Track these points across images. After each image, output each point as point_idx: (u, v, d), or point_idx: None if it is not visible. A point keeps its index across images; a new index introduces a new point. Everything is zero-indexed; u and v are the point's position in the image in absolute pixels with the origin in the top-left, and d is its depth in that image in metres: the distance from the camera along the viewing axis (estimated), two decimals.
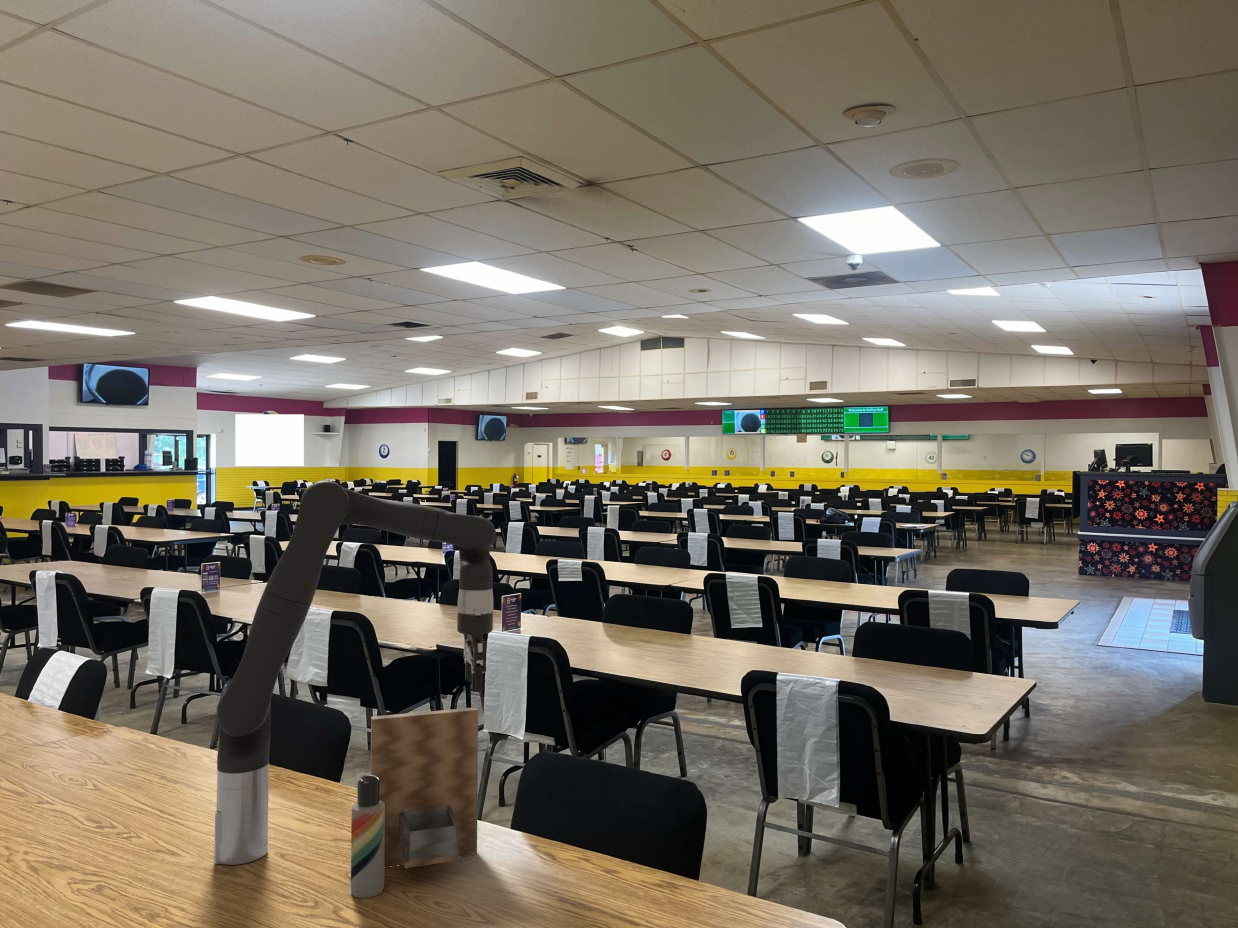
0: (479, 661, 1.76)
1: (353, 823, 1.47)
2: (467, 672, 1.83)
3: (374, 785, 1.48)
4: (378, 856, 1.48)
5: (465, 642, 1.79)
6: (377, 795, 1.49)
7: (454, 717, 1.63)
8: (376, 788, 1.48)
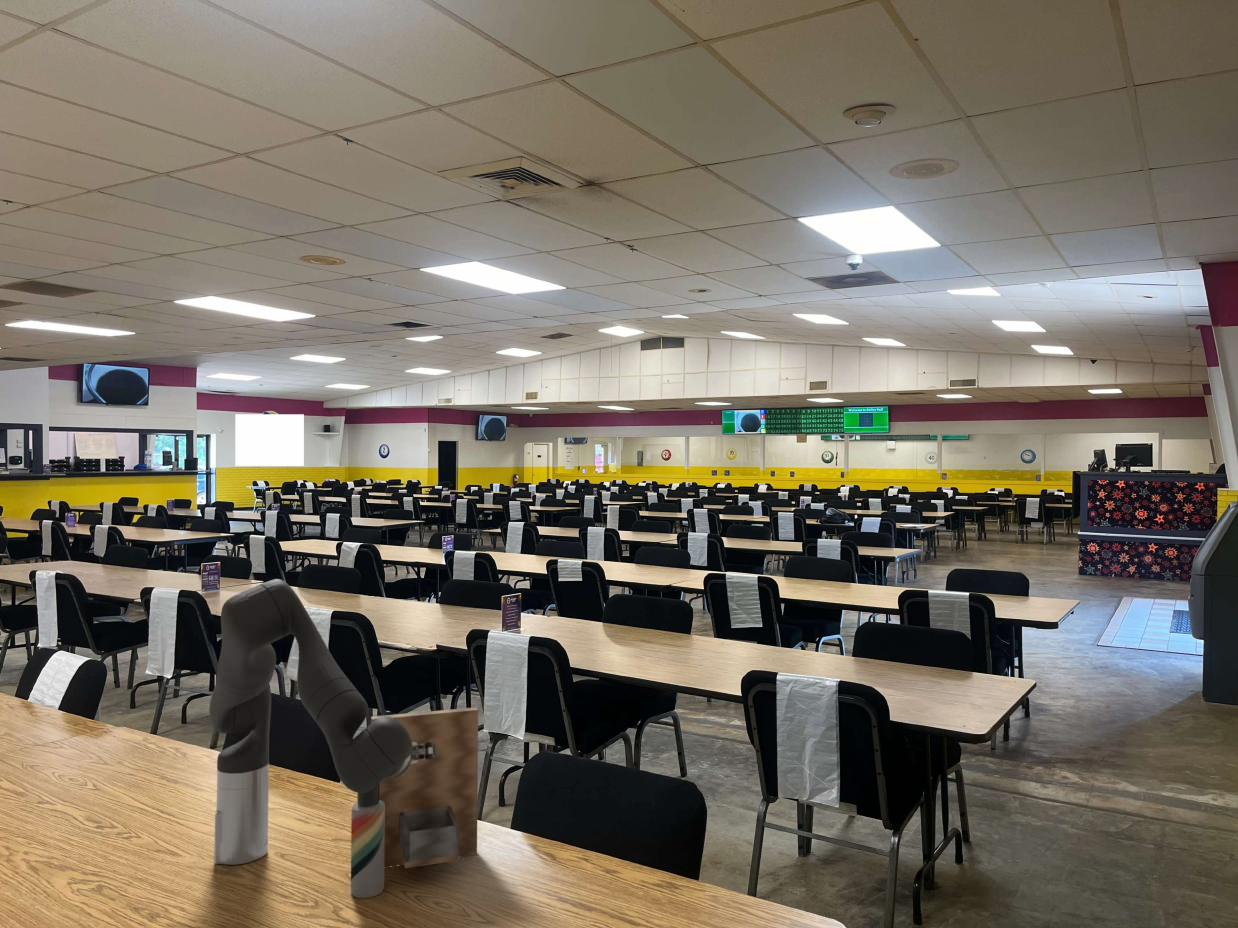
0: None
1: (353, 823, 1.47)
2: None
3: None
4: (378, 856, 1.48)
5: None
6: (377, 795, 1.49)
7: (454, 717, 1.63)
8: (376, 788, 1.48)
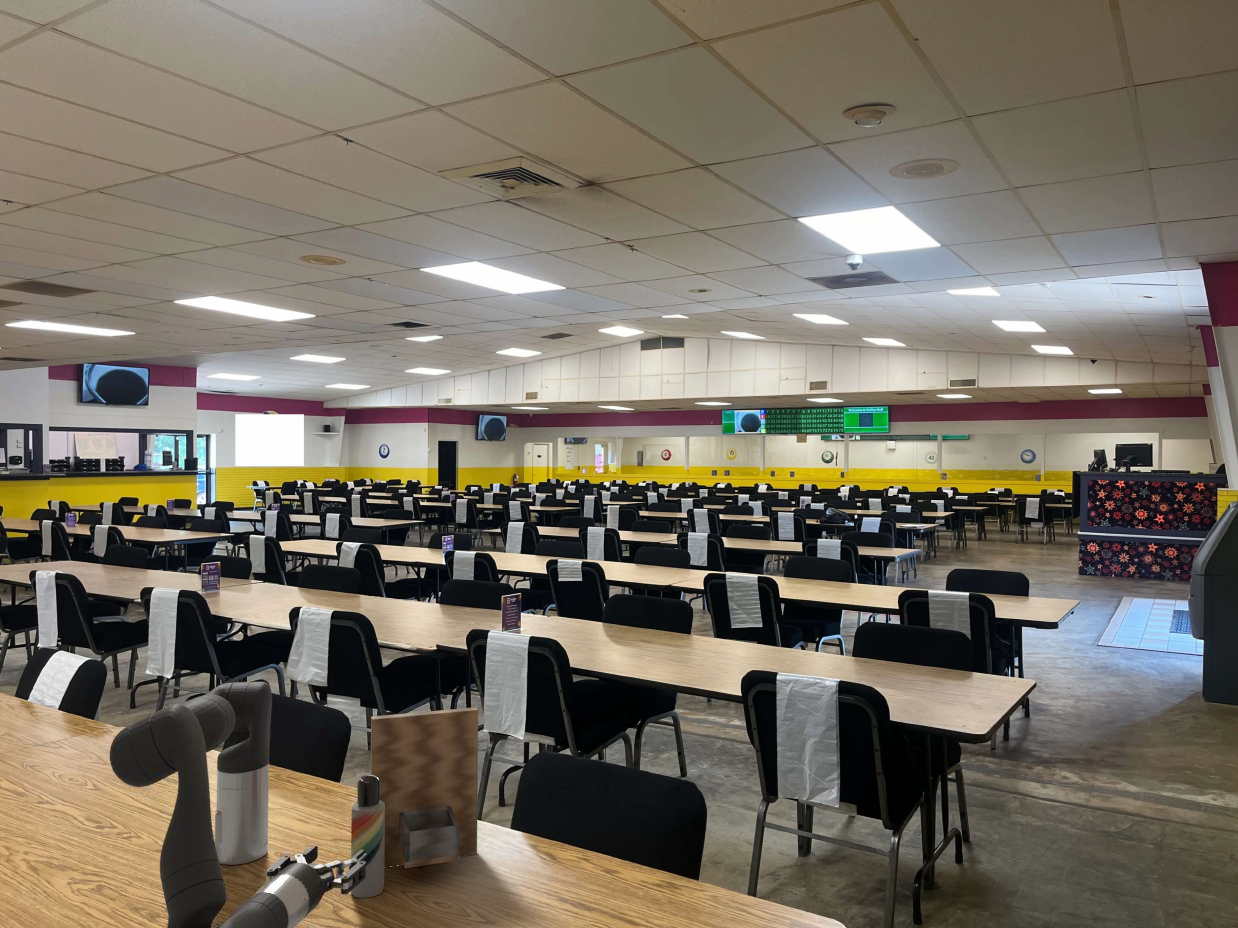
0: None
1: (353, 823, 1.47)
2: None
3: (374, 785, 1.48)
4: (378, 856, 1.48)
5: (314, 867, 1.30)
6: (377, 795, 1.49)
7: (454, 717, 1.63)
8: (376, 788, 1.48)
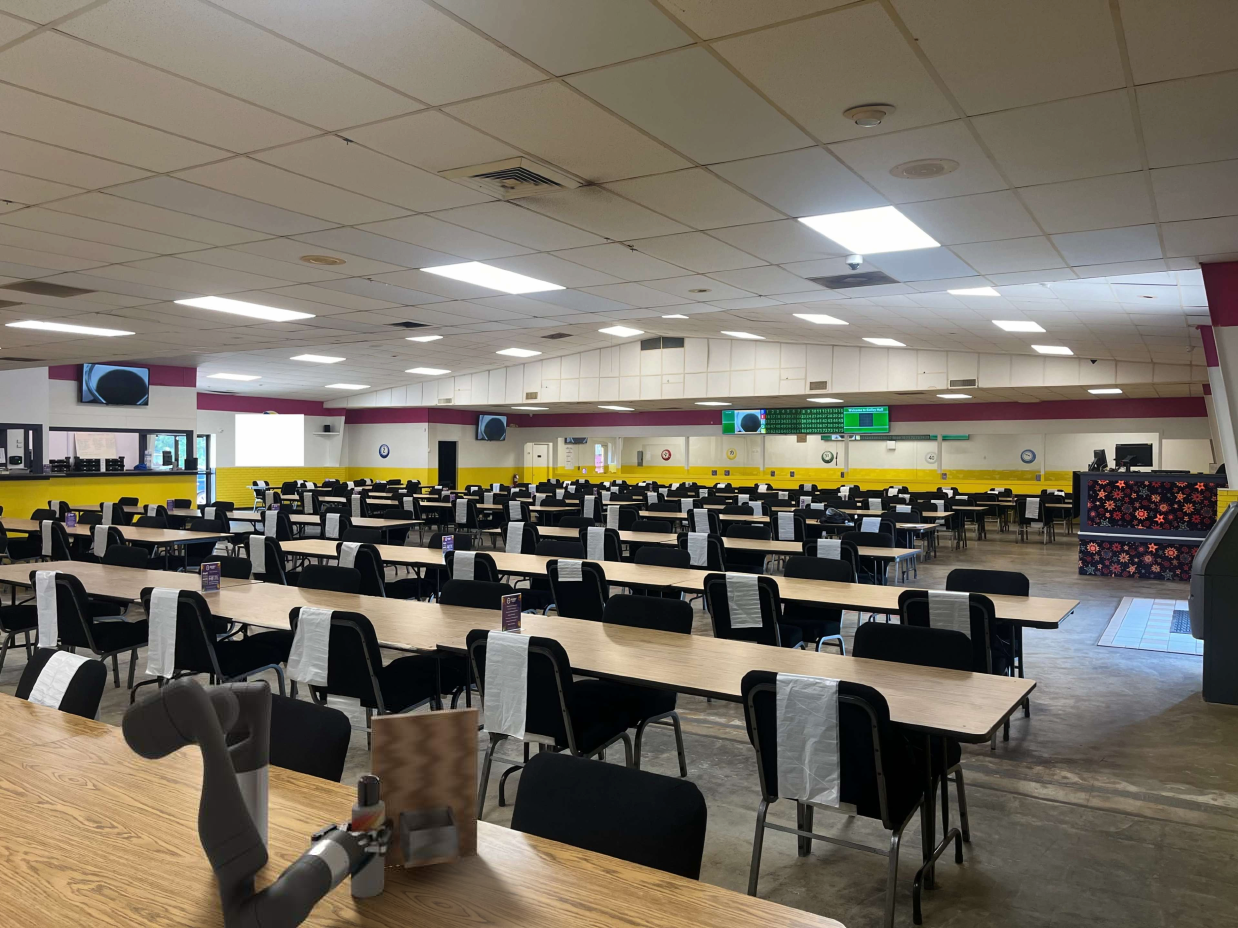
0: None
1: (353, 823, 1.47)
2: None
3: (374, 785, 1.48)
4: (378, 856, 1.48)
5: (352, 834, 1.42)
6: (377, 795, 1.49)
7: (454, 717, 1.63)
8: (376, 788, 1.48)
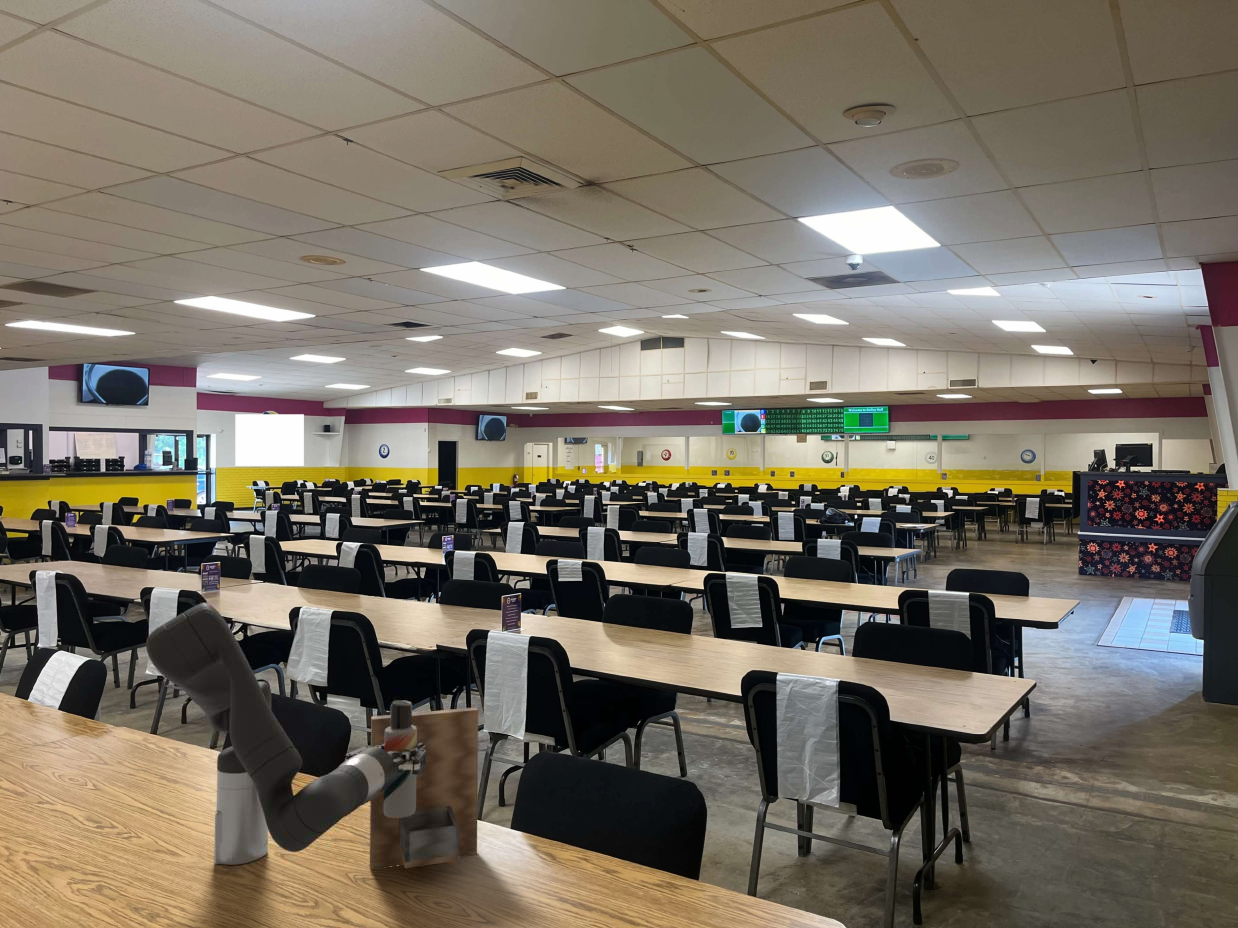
0: None
1: (386, 745, 1.50)
2: None
3: (407, 708, 1.51)
4: (410, 778, 1.51)
5: None
6: (410, 718, 1.52)
7: (454, 717, 1.63)
8: (409, 711, 1.52)
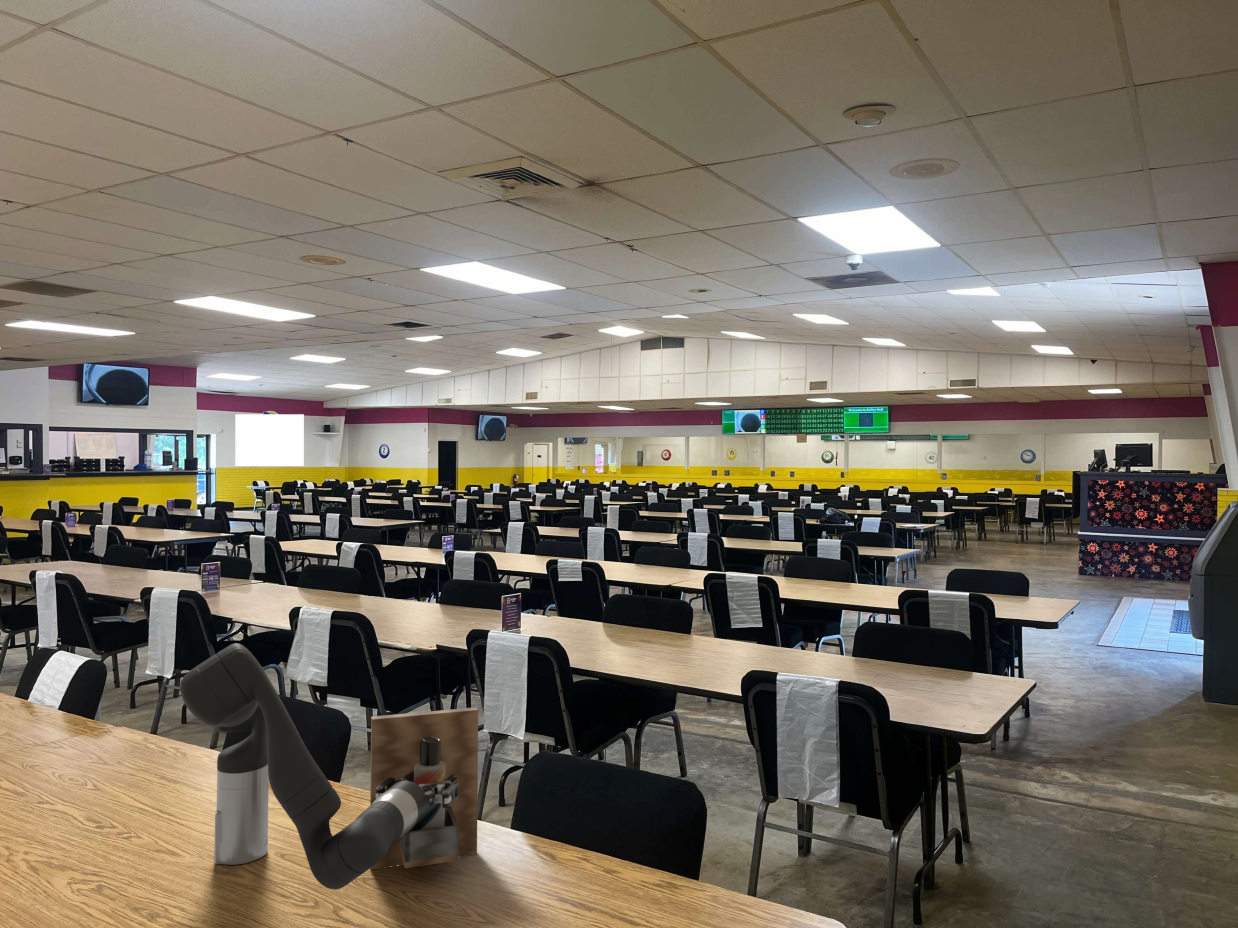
0: None
1: (416, 781, 1.54)
2: None
3: (436, 745, 1.55)
4: (439, 813, 1.54)
5: None
6: (438, 755, 1.55)
7: (454, 717, 1.63)
8: (438, 748, 1.55)
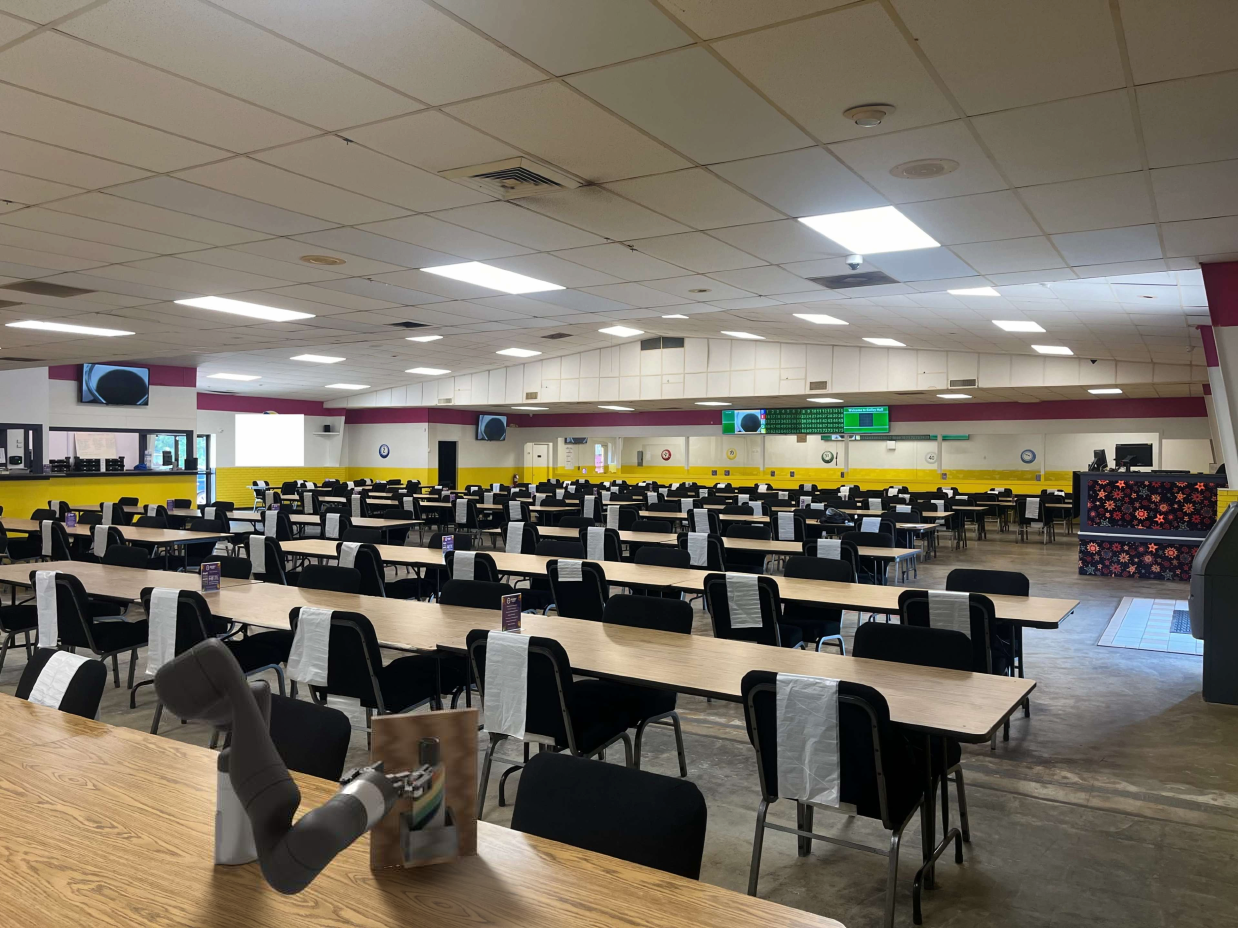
0: None
1: None
2: None
3: (435, 746, 1.54)
4: (439, 814, 1.54)
5: (385, 776, 1.36)
6: (438, 756, 1.55)
7: (454, 717, 1.63)
8: (437, 749, 1.55)
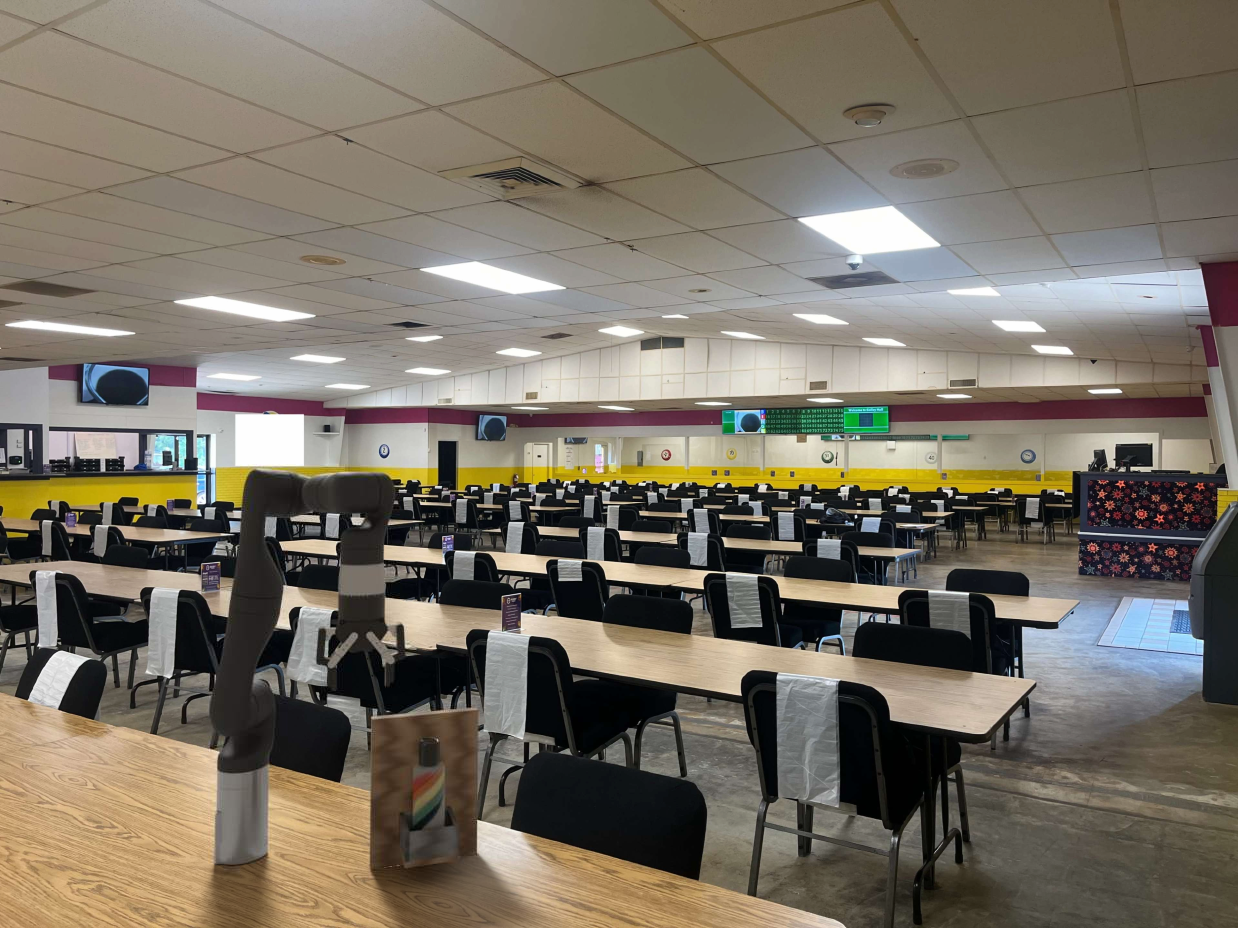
0: None
1: (415, 782, 1.53)
2: None
3: (435, 746, 1.54)
4: (439, 814, 1.54)
5: None
6: (438, 756, 1.55)
7: (454, 717, 1.63)
8: (437, 749, 1.55)
